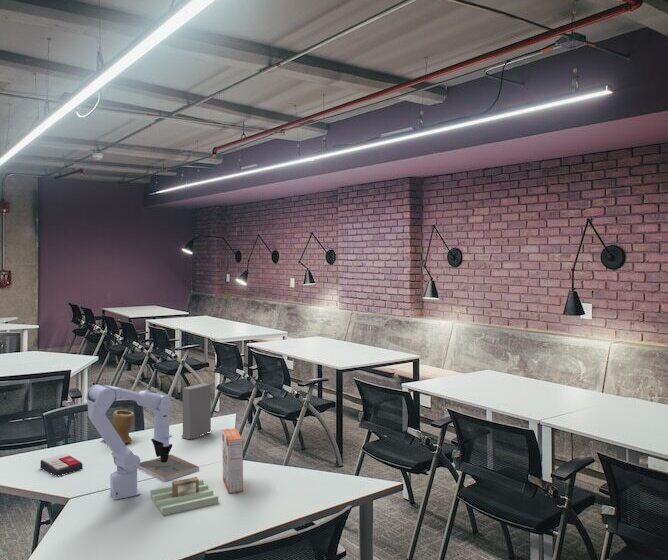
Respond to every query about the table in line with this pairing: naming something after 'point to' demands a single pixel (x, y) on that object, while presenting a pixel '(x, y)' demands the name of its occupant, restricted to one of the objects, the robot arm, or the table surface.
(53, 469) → the red and beige box
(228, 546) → the table surface
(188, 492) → the frame
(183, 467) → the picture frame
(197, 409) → the upright grey panel
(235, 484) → the cracker box
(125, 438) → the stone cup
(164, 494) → the green slotted rack
